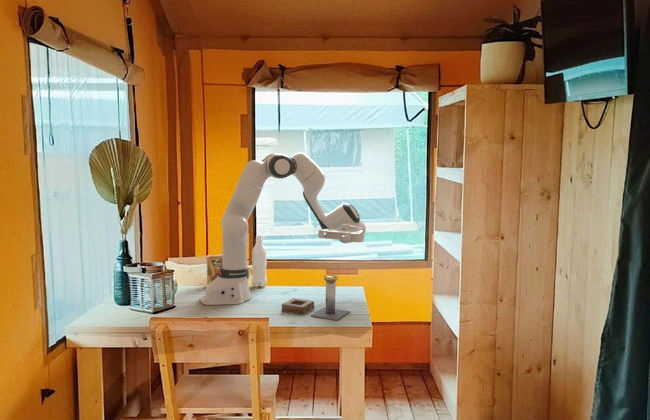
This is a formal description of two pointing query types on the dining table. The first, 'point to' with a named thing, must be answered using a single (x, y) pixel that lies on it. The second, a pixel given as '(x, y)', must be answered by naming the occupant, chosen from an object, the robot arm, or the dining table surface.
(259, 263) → the water bottle
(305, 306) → the socket block
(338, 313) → the rubber mat
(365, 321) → the dining table surface
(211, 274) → the candy box
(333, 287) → the steel peg
